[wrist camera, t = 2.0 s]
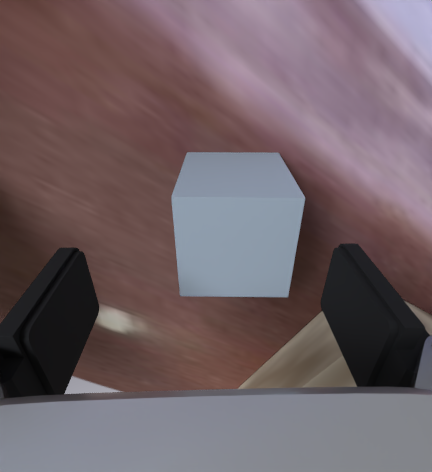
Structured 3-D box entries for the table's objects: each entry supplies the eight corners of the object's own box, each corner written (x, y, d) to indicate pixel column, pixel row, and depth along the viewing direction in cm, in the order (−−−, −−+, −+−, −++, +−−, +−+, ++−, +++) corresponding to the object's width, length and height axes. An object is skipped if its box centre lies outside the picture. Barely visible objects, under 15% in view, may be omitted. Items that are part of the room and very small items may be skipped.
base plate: (501, 352, 24) (547, 400, 21) (361, 433, 32) (378, 478, 28) (359, 276, 20) (387, 320, 17) (236, 389, 28) (239, 435, 24)
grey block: (278, 152, 16) (305, 197, 11) (269, 230, 19) (288, 297, 14) (187, 152, 16) (171, 197, 11) (191, 230, 19) (180, 295, 14)
